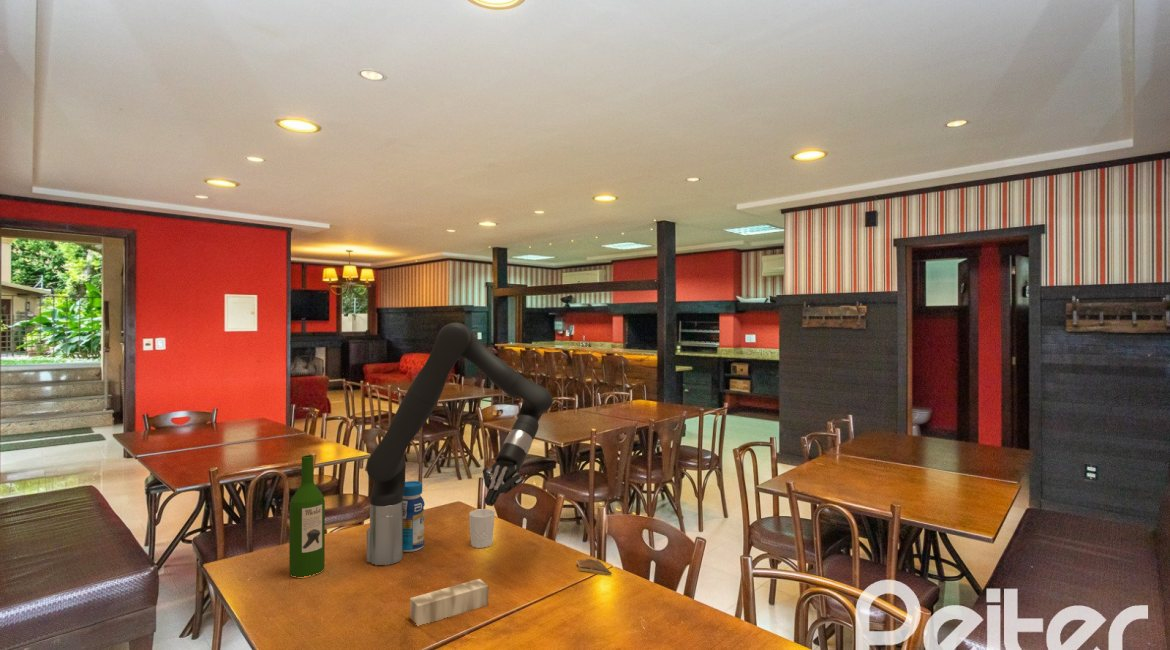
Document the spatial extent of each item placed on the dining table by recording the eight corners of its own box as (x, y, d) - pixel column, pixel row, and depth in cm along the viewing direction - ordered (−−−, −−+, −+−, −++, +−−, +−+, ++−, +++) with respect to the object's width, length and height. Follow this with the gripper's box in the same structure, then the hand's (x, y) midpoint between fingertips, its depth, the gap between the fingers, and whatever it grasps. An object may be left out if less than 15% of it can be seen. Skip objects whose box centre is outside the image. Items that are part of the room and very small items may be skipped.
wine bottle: (299, 581, 155) (299, 461, 155) (283, 572, 161) (283, 456, 161) (330, 570, 162) (331, 455, 162) (314, 562, 168) (314, 451, 168)
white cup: (497, 540, 186) (497, 509, 186) (490, 549, 178) (490, 517, 178) (473, 539, 187) (473, 508, 187) (465, 548, 179) (466, 516, 179)
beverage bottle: (395, 544, 181) (395, 481, 181) (422, 540, 185) (422, 478, 185) (398, 554, 174) (398, 488, 174) (427, 550, 177) (427, 485, 177)
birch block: (479, 598, 147) (410, 619, 137) (479, 578, 147) (410, 598, 137) (488, 605, 143) (417, 628, 133) (488, 585, 143) (417, 606, 133)
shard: (612, 578, 160) (612, 571, 159) (586, 582, 157) (586, 576, 157) (597, 563, 170) (597, 556, 170) (572, 566, 167) (572, 560, 167)
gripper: (490, 439, 165) (462, 493, 154) (529, 444, 158) (502, 501, 148) (502, 453, 169) (475, 507, 159) (539, 459, 163) (514, 515, 153)
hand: (488, 504), depth 153 cm, fingers closed
